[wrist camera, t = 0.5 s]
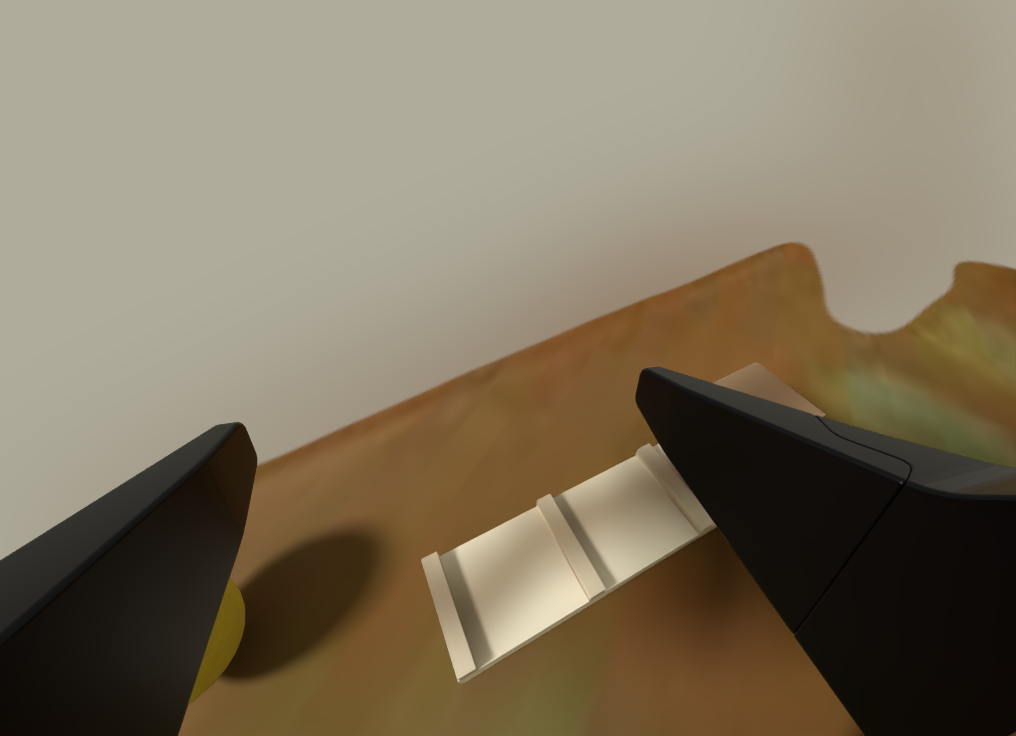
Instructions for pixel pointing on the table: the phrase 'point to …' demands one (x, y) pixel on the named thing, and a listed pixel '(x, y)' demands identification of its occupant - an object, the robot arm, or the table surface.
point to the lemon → (222, 640)
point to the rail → (573, 548)
